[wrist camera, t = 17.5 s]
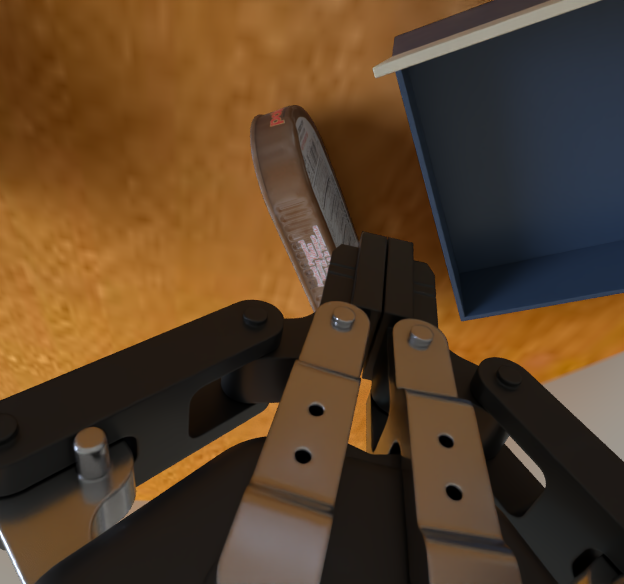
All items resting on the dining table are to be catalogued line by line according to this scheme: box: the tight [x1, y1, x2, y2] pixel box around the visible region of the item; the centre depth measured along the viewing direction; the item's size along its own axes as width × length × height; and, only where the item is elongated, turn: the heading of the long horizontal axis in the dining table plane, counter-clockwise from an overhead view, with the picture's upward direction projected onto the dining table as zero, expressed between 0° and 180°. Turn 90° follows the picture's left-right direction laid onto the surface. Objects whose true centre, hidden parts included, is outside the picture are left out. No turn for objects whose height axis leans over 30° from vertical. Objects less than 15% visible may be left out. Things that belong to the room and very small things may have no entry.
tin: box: [250, 105, 359, 312], centre depth 32 cm, size 15×3×8 cm, turn 21°
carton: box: [392, 0, 624, 321], centre depth 28 cm, size 18×17×5 cm
